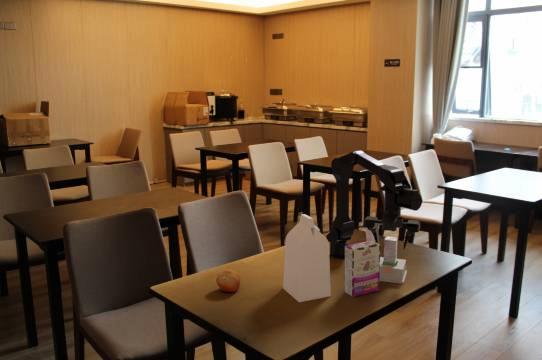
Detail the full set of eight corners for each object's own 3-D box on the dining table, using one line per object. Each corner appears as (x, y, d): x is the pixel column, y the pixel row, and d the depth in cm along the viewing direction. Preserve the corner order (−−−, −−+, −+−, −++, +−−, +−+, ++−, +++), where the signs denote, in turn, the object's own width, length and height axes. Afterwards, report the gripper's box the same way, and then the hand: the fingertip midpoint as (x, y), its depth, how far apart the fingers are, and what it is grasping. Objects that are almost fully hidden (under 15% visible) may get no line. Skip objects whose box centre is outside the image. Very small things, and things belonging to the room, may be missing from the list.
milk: (283, 288, 175) (282, 213, 170) (313, 282, 180) (314, 210, 175) (298, 302, 165) (299, 223, 159) (330, 296, 169) (331, 219, 164)
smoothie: (380, 246, 216) (381, 214, 214) (365, 247, 216) (365, 214, 214) (377, 242, 223) (378, 210, 220) (362, 242, 223) (363, 210, 220)
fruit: (246, 280, 178) (241, 266, 173) (239, 300, 173) (233, 285, 168) (224, 278, 181) (219, 263, 176) (217, 296, 175) (211, 282, 170)
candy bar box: (370, 285, 177) (371, 239, 174) (379, 291, 173) (381, 243, 169) (343, 292, 172) (344, 244, 169) (352, 297, 168) (353, 249, 164)
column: (382, 265, 183) (383, 239, 181) (384, 261, 187) (385, 236, 185) (395, 267, 182) (396, 241, 180) (396, 262, 185) (398, 237, 184)
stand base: (371, 280, 182) (371, 266, 181) (376, 268, 192) (376, 256, 191) (403, 284, 178) (404, 270, 177) (407, 272, 188) (407, 259, 187)
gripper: (361, 208, 176) (360, 251, 179) (418, 212, 170) (415, 258, 173) (367, 200, 186) (365, 242, 189) (421, 204, 180) (418, 247, 183)
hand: (390, 247), depth 183 cm, fingers open, 9 cm apart
